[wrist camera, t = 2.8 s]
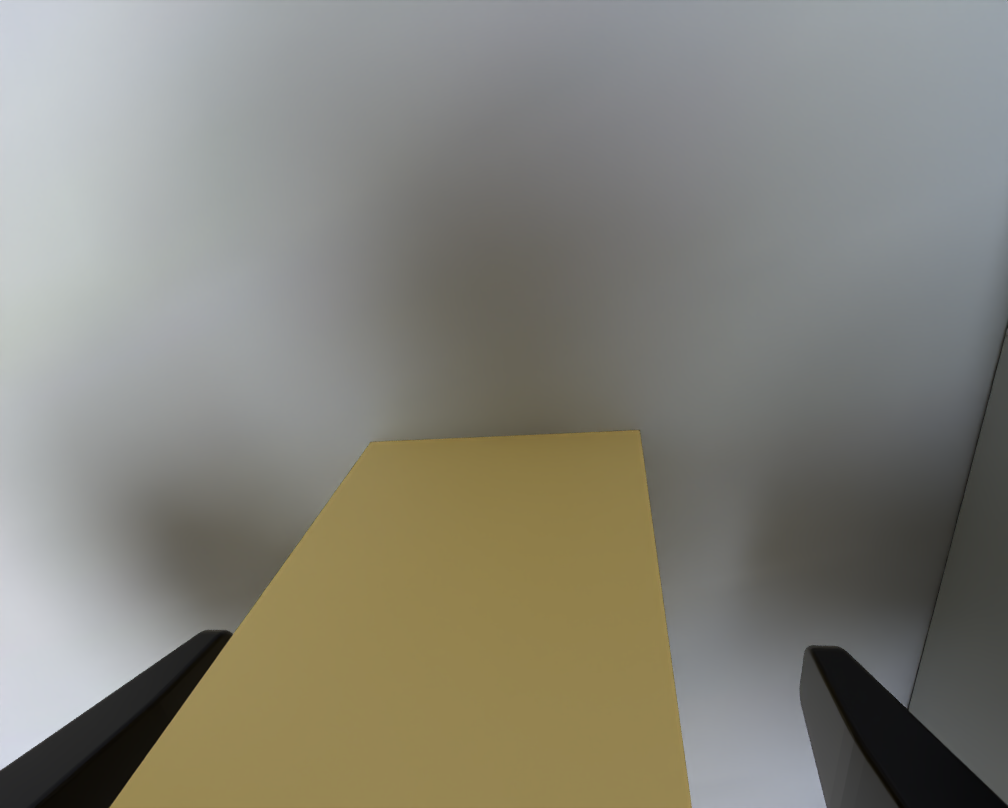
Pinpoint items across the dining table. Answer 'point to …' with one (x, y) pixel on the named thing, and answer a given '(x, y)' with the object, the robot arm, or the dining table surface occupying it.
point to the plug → (447, 645)
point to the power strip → (974, 614)
